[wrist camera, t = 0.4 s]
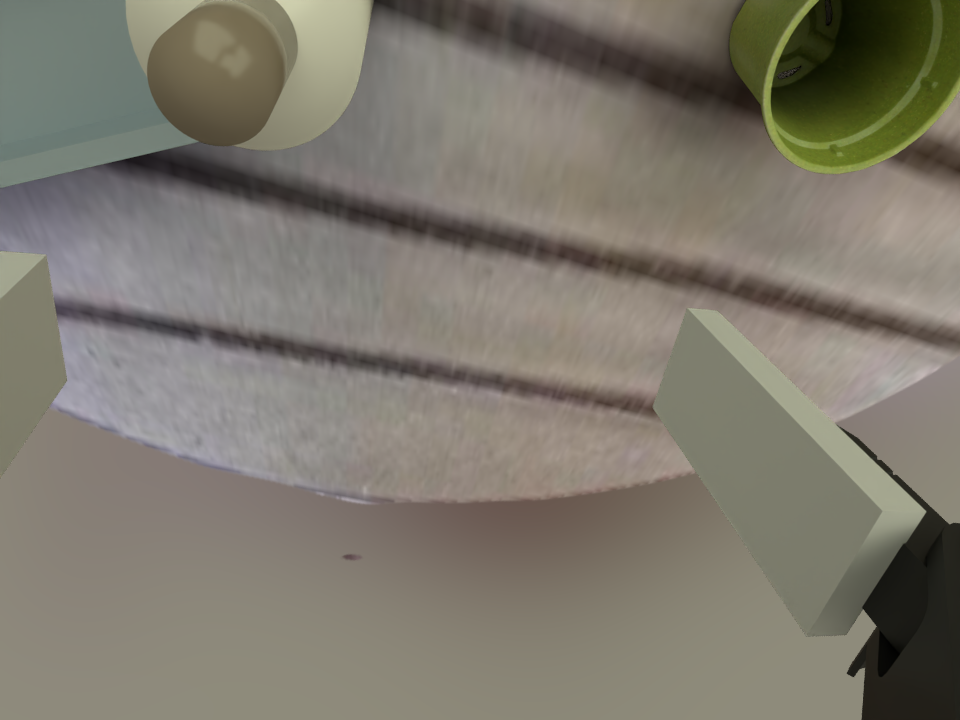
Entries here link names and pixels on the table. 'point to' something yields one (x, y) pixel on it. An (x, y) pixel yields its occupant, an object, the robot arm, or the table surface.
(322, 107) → the cream bottle
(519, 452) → the table surface
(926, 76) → the plant pot
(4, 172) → the grey-green cradle
